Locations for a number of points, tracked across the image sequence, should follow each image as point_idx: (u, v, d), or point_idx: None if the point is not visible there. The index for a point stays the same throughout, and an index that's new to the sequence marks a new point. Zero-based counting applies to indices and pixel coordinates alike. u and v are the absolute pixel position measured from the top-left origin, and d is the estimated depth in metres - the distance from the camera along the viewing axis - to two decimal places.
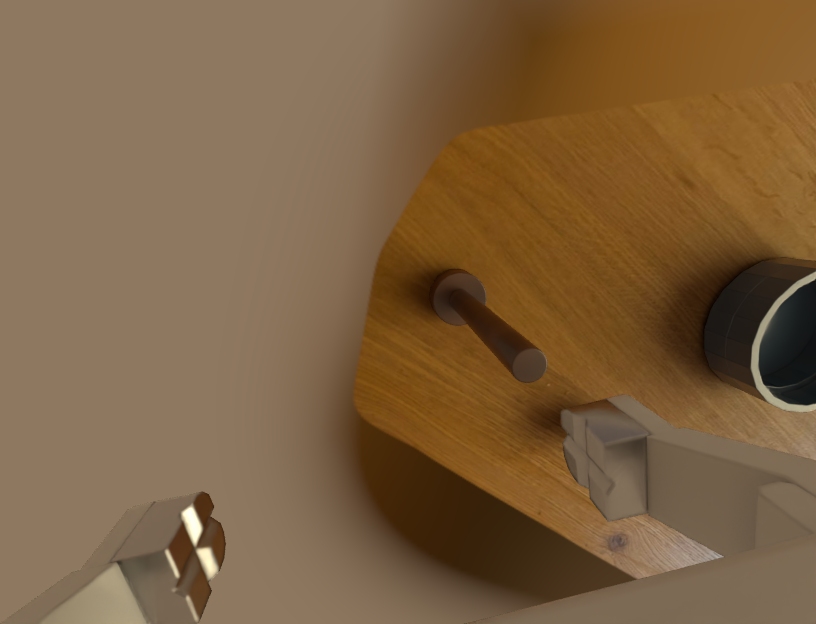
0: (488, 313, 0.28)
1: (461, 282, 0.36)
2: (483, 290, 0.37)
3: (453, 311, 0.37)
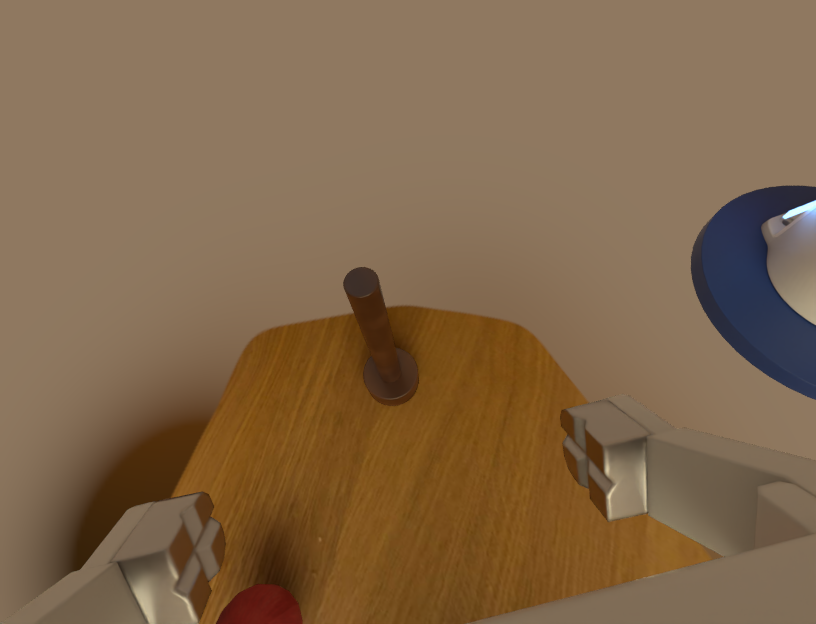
0: None
1: (407, 366, 0.37)
2: (406, 390, 0.36)
3: (377, 370, 0.37)
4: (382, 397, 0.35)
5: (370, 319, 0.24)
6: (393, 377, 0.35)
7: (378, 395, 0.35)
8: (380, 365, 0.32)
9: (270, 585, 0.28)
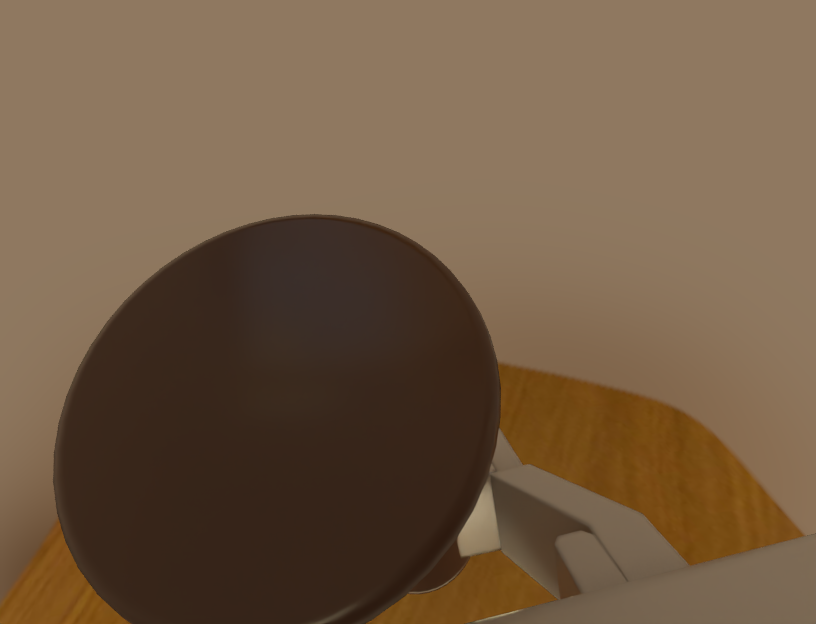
0: None
1: None
2: (452, 572, 0.15)
3: None
4: None
5: None
6: None
7: None
8: None
9: None
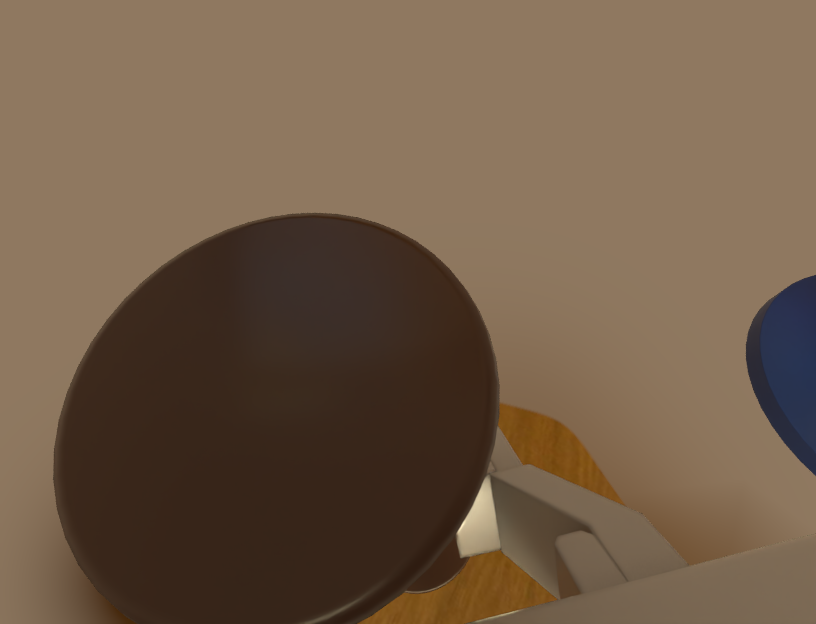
0: None
1: None
2: (452, 571, 0.15)
3: None
4: None
5: None
6: None
7: None
8: None
9: None
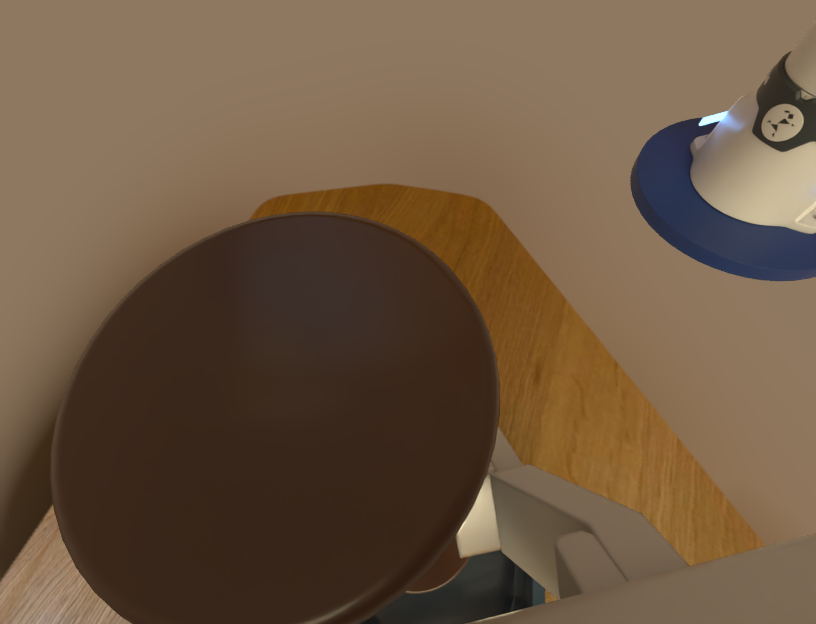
0: None
1: None
2: (452, 571, 0.15)
3: None
4: None
5: None
6: None
7: None
8: None
9: None
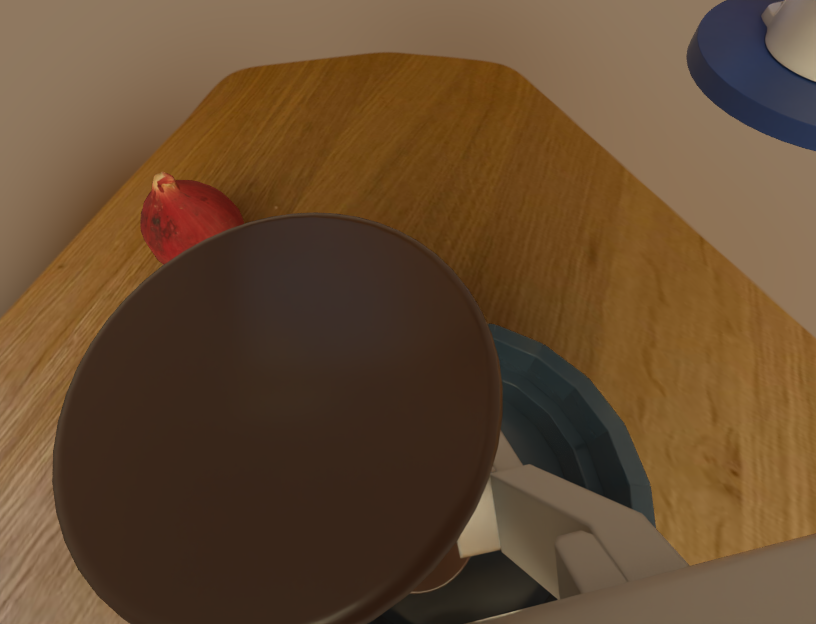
0: None
1: None
2: (452, 572, 0.15)
3: None
4: None
5: None
6: None
7: None
8: None
9: None
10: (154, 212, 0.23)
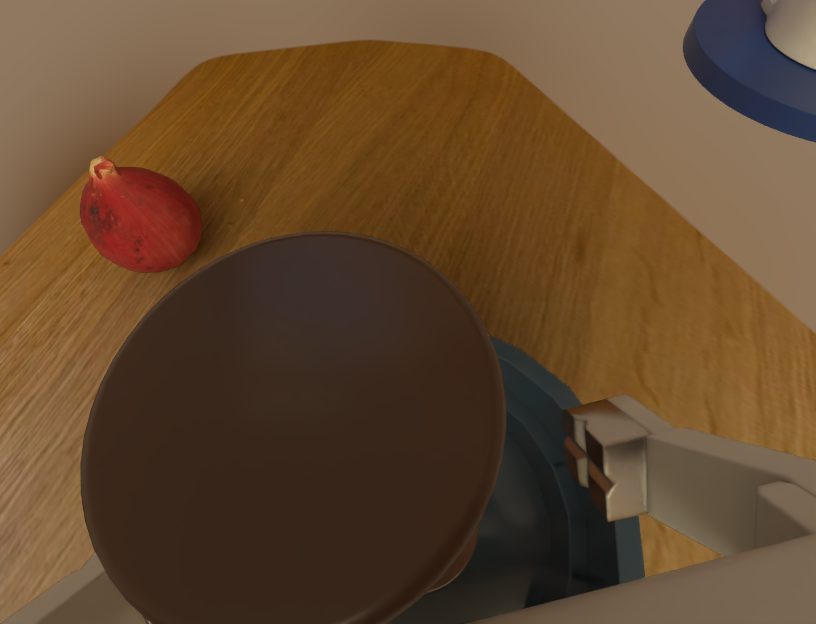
0: None
1: None
2: (453, 572, 0.15)
3: None
4: None
5: None
6: None
7: None
8: None
9: None
10: (92, 201, 0.20)
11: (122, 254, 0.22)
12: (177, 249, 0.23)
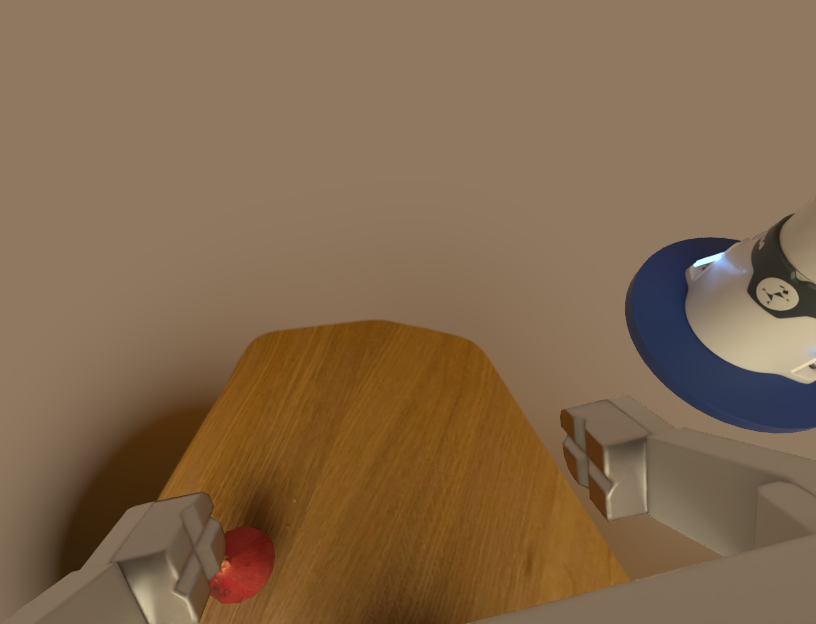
0: None
1: None
2: None
3: None
4: None
5: None
6: None
7: None
8: None
9: (252, 527, 0.37)
10: (215, 583, 0.33)
11: None
12: None
